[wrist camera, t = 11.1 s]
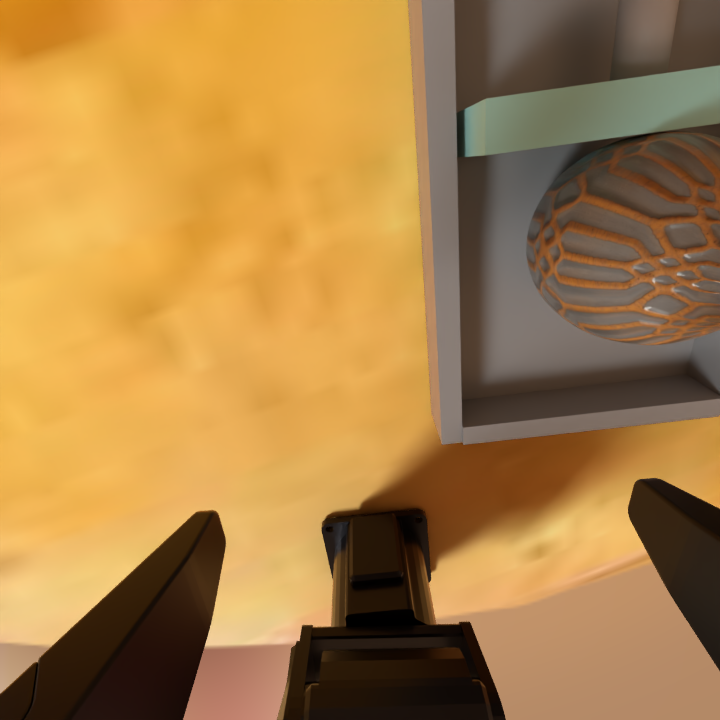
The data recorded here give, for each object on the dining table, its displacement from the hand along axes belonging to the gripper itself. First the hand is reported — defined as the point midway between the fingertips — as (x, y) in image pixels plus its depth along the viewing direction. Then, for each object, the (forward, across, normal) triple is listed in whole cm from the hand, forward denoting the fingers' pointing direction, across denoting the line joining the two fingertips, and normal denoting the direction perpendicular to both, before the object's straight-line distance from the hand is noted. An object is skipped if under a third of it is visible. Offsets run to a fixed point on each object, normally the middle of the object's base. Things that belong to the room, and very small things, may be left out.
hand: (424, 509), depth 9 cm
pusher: (+11, -9, -9) cm, 17 cm away
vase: (+12, -9, -4) cm, 15 cm away
